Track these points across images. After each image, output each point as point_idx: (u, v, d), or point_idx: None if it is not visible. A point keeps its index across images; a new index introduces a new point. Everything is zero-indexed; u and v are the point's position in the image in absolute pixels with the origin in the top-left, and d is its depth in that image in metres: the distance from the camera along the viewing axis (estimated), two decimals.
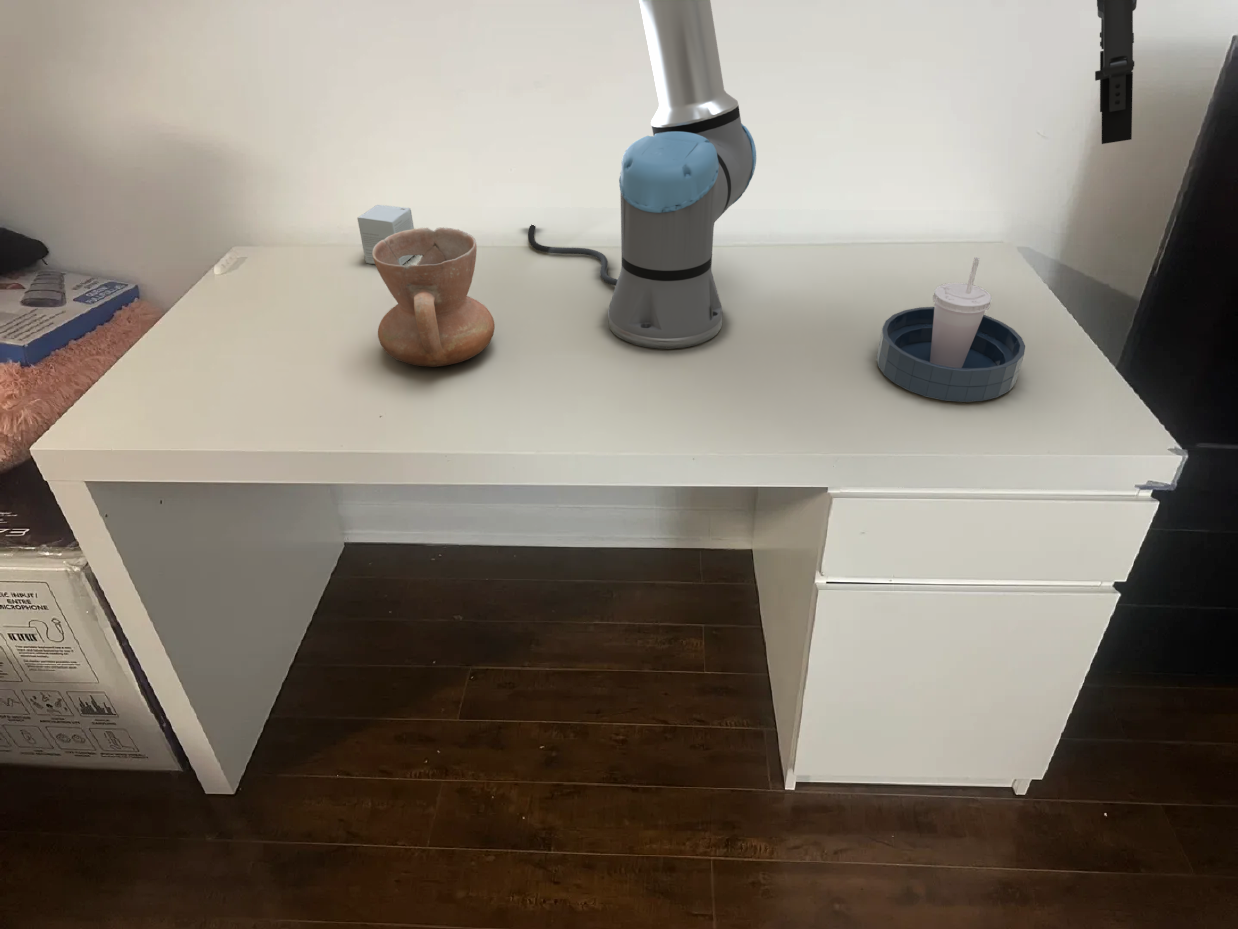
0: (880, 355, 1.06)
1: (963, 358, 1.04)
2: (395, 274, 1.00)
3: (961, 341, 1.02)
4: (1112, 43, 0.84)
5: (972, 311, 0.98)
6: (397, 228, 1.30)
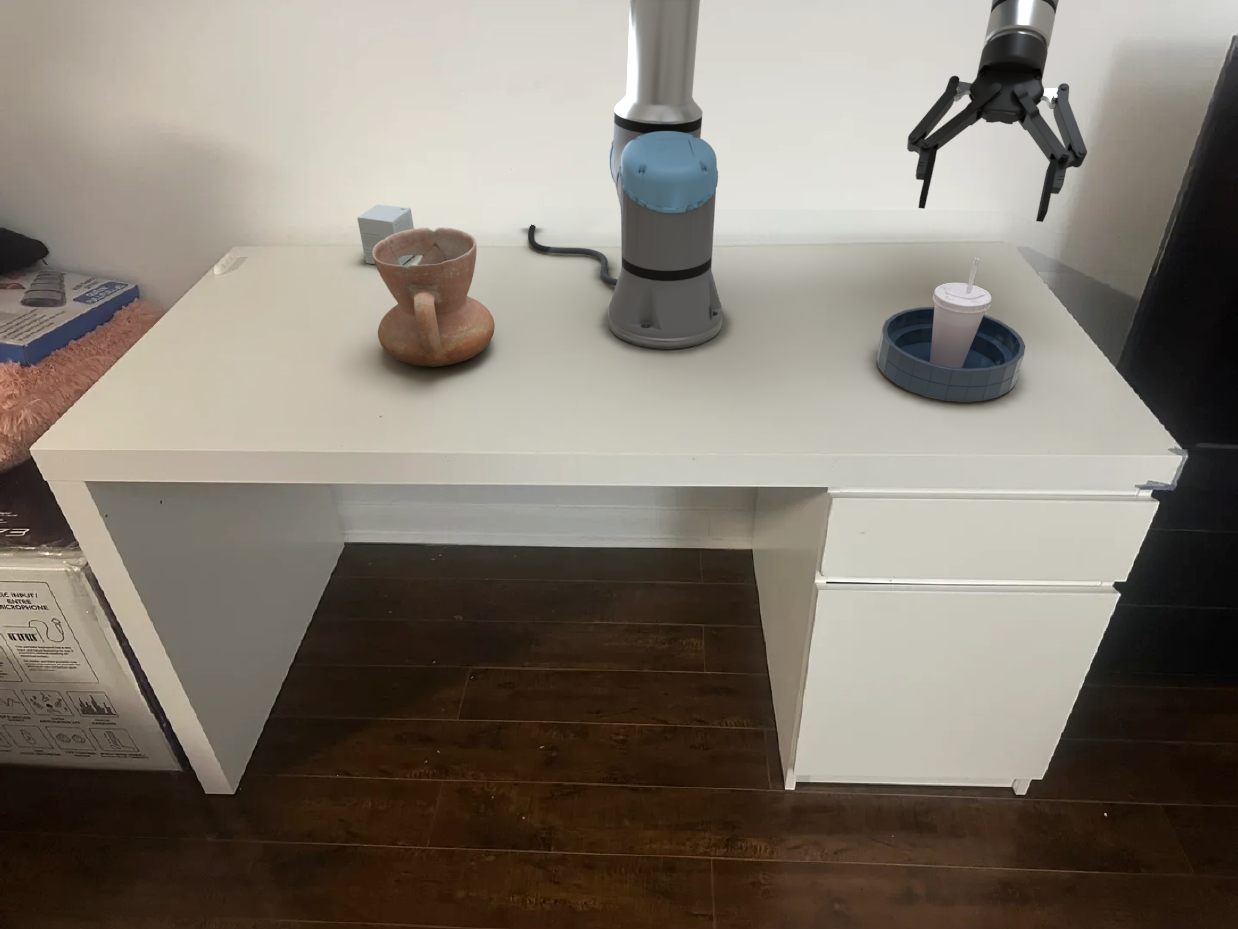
0: (880, 355, 1.06)
1: (963, 358, 1.04)
2: (395, 274, 1.00)
3: (961, 341, 1.02)
4: None
5: (972, 311, 0.98)
6: (397, 228, 1.30)
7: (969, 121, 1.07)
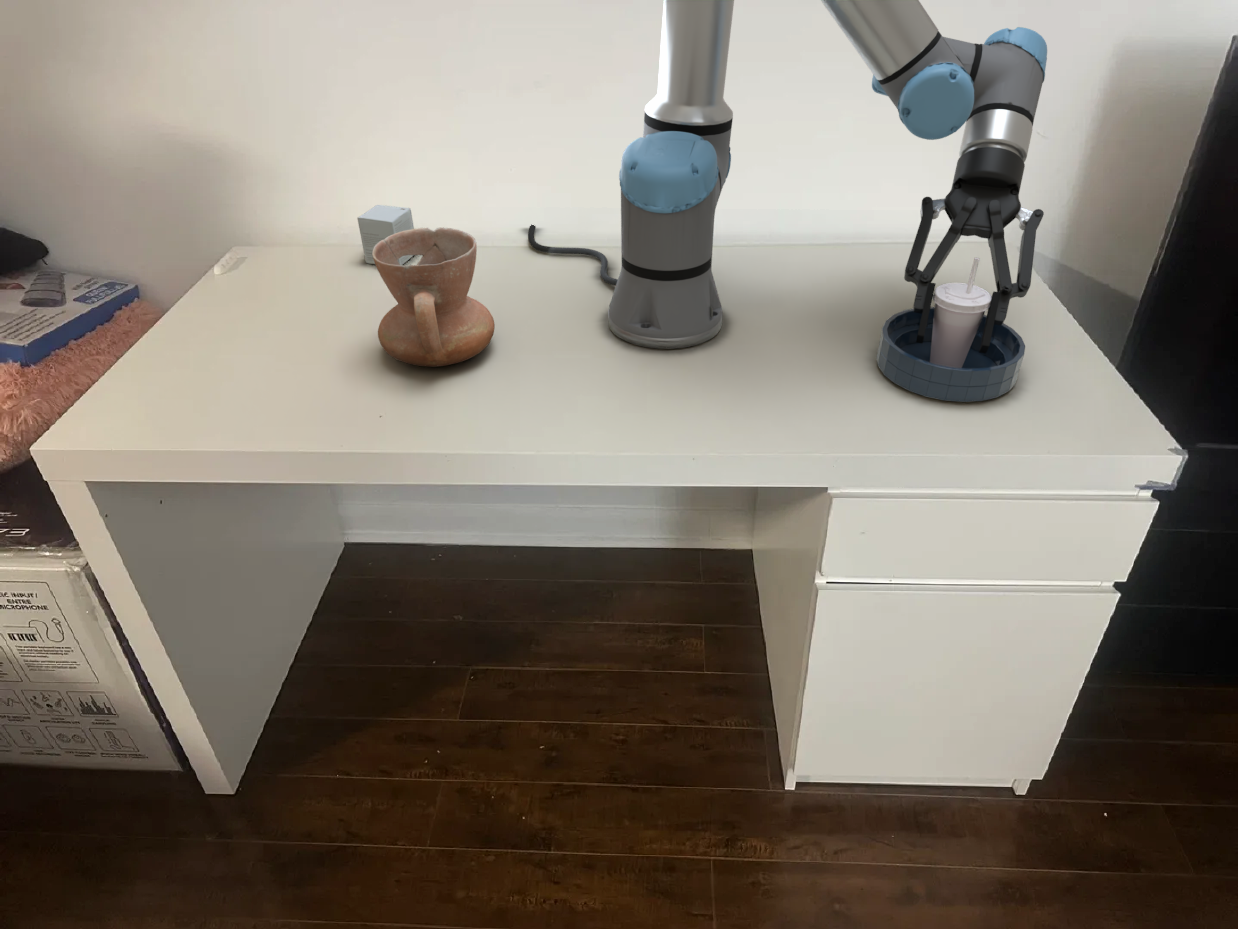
0: (880, 355, 1.06)
1: (963, 358, 1.04)
2: (395, 274, 1.00)
3: (961, 341, 1.02)
4: None
5: (972, 311, 0.98)
6: (397, 228, 1.30)
7: (955, 240, 1.03)
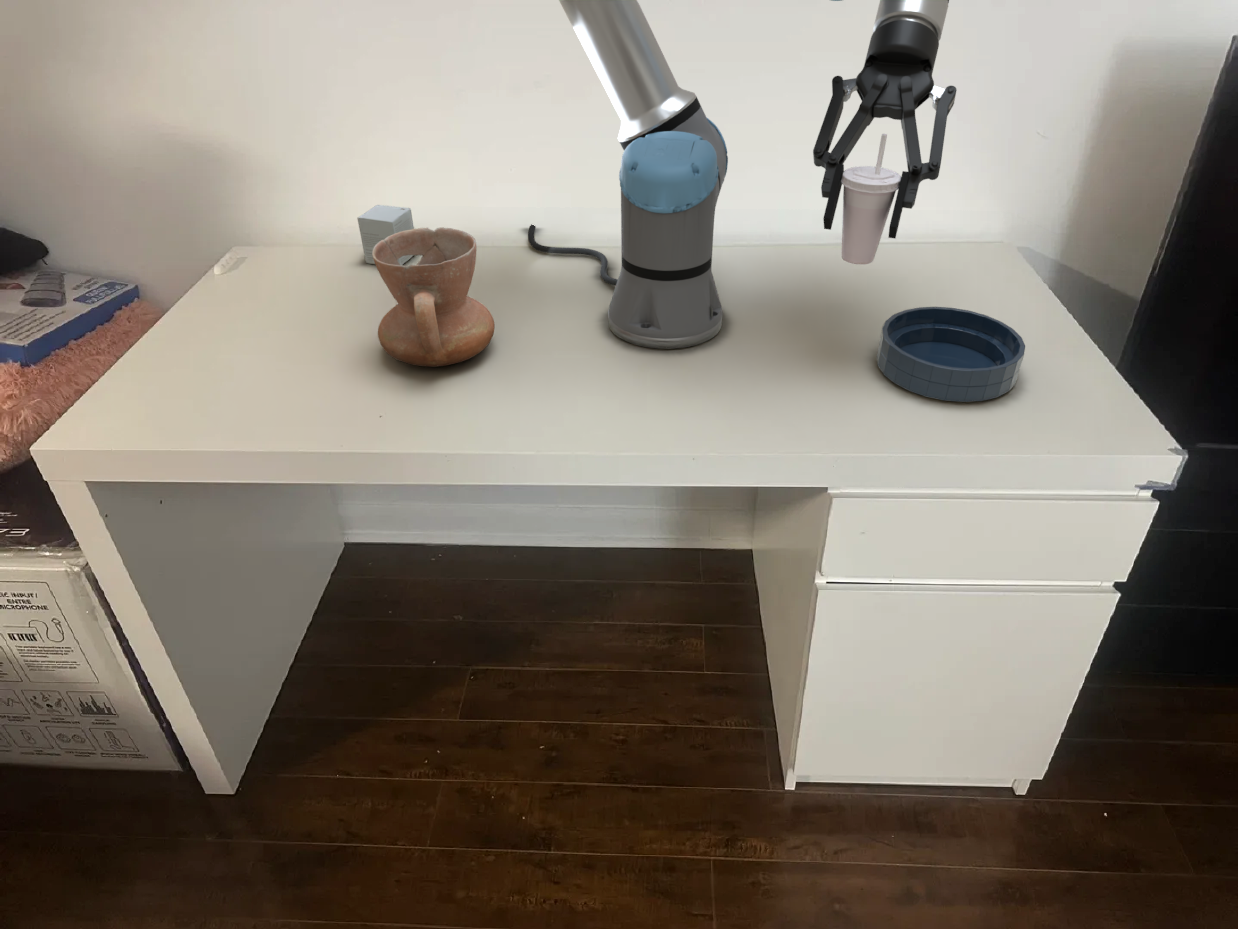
0: (880, 355, 1.06)
1: (874, 246, 0.99)
2: (395, 274, 1.00)
3: (870, 226, 0.97)
4: None
5: (879, 191, 0.93)
6: (397, 228, 1.30)
7: (866, 122, 0.98)
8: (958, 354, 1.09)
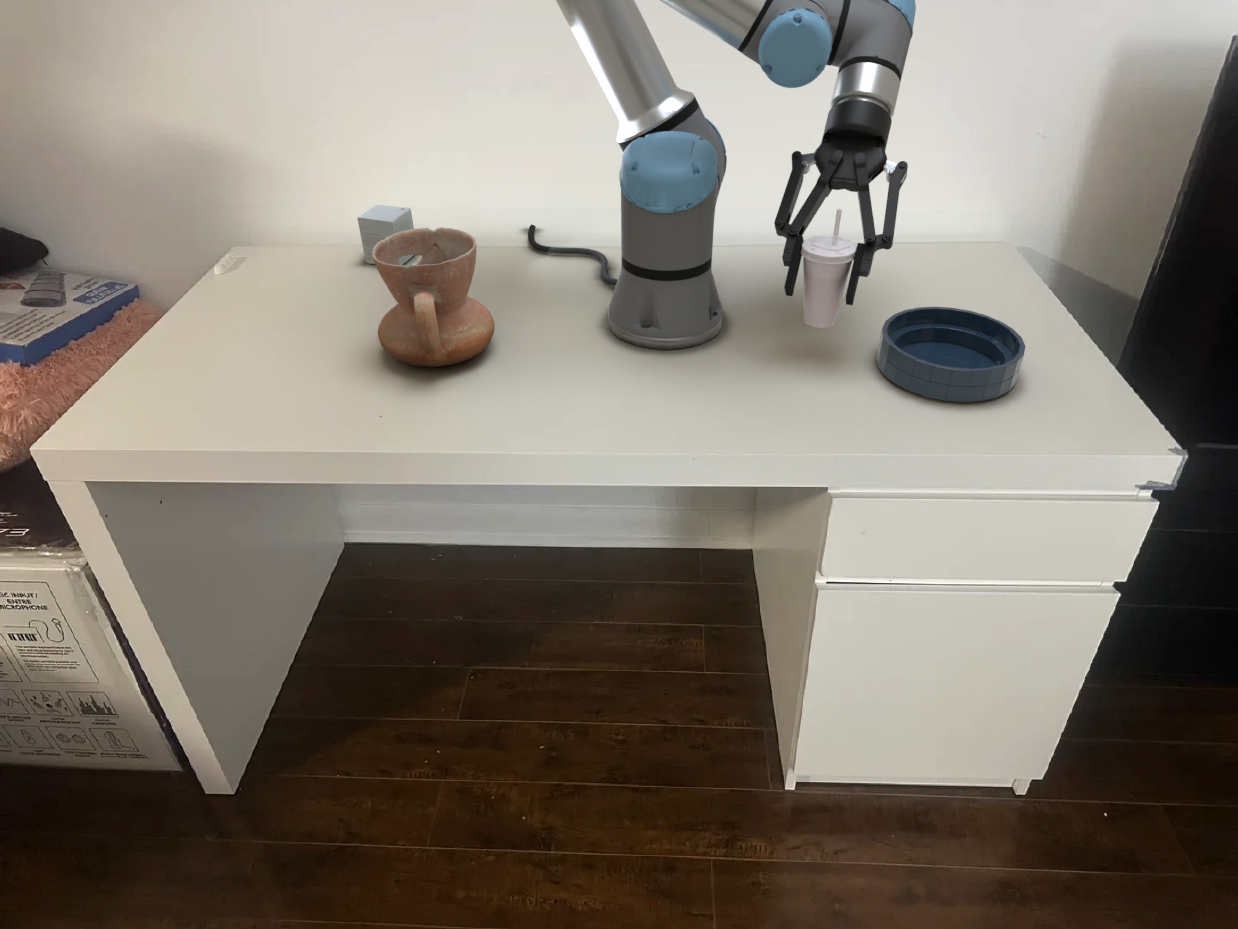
0: (880, 355, 1.06)
1: (834, 311, 1.04)
2: (395, 274, 1.00)
3: (828, 293, 1.02)
4: (895, 221, 1.00)
5: (836, 262, 0.99)
6: (397, 228, 1.30)
7: (824, 194, 1.03)
8: (958, 354, 1.09)
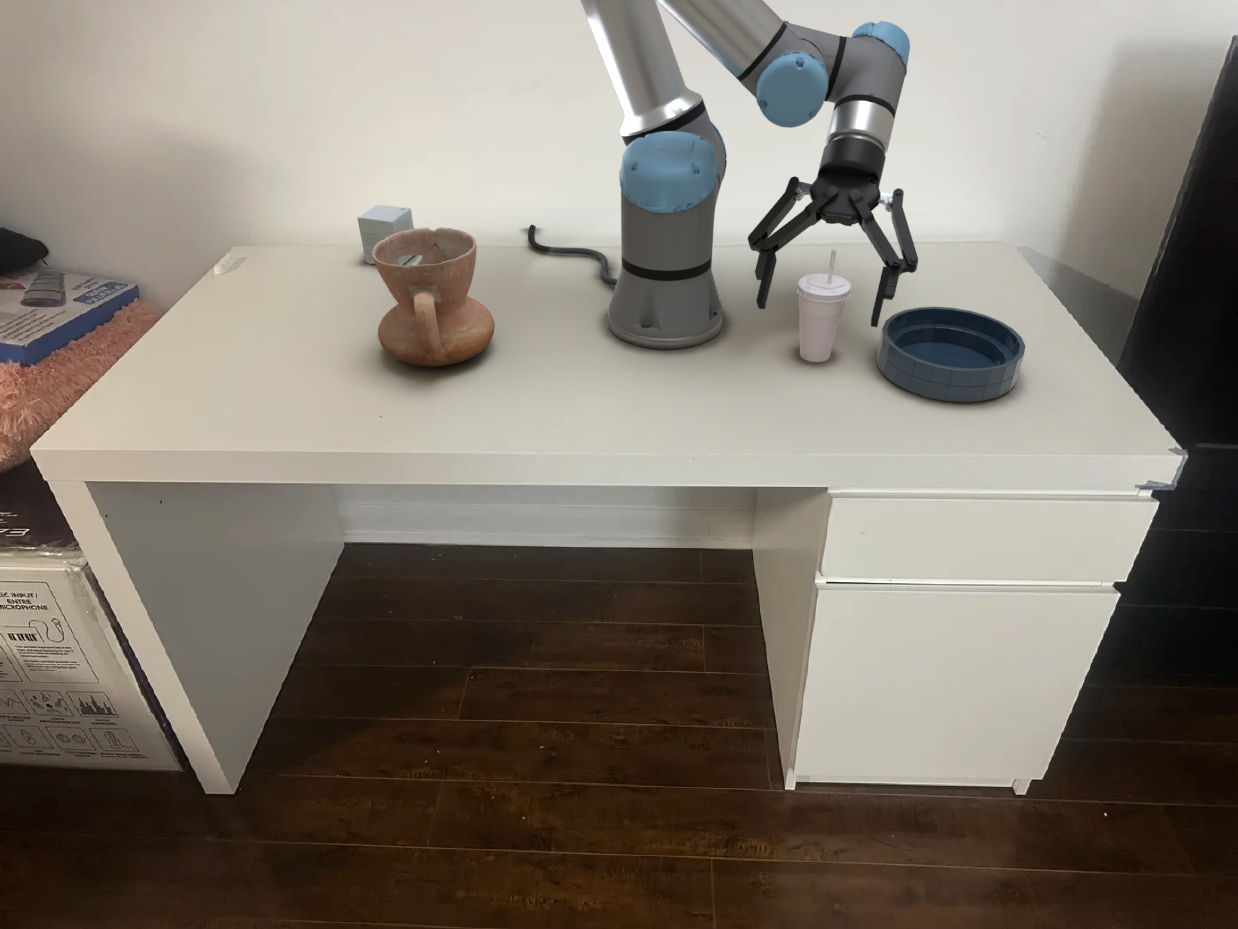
0: (880, 355, 1.06)
1: (829, 346, 1.07)
2: (395, 274, 1.00)
3: (823, 330, 1.05)
4: None
5: (830, 300, 1.02)
6: (397, 228, 1.30)
7: (809, 222, 1.06)
8: (958, 354, 1.09)
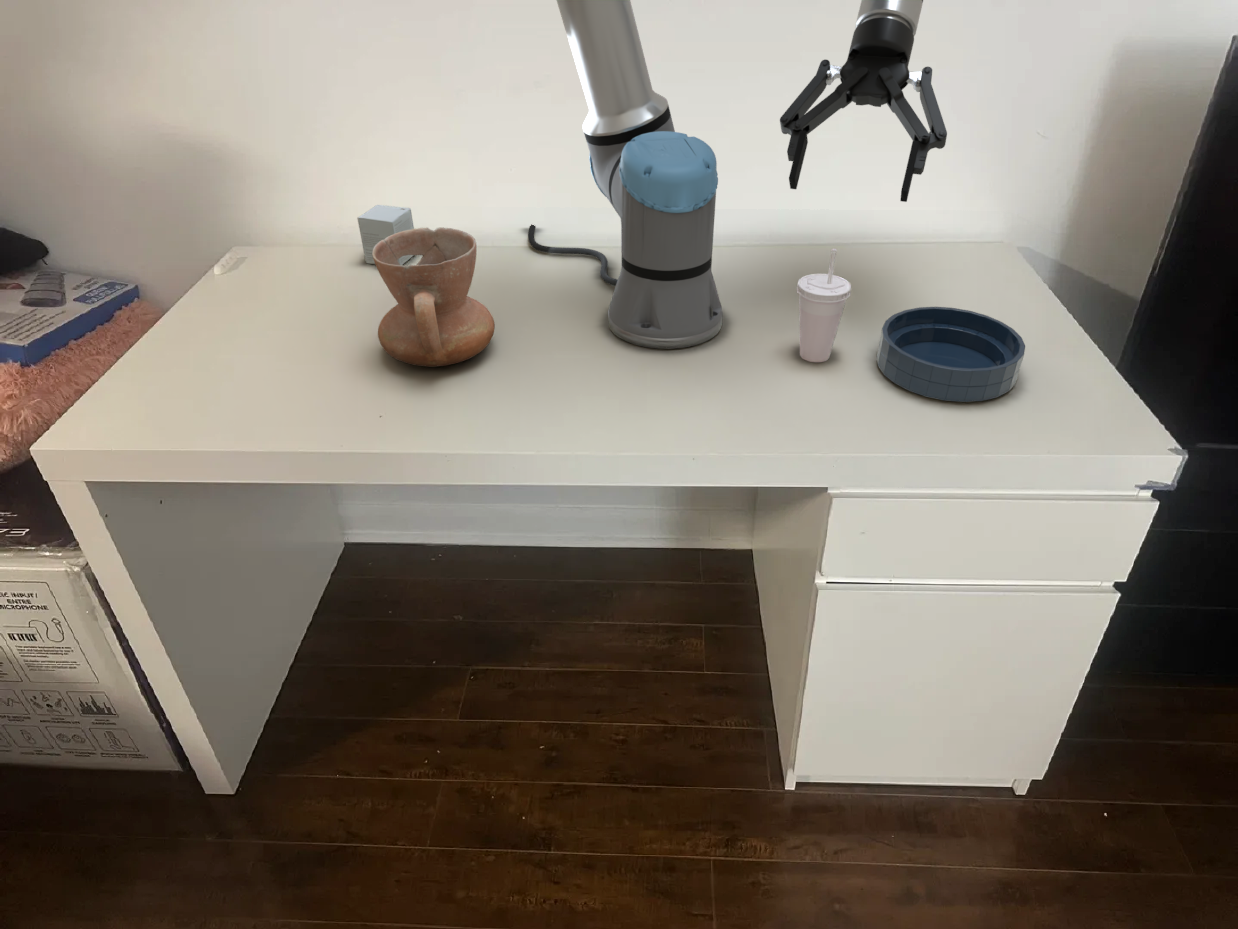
0: (880, 355, 1.06)
1: (829, 346, 1.07)
2: (395, 274, 1.00)
3: (823, 330, 1.05)
4: None
5: (830, 300, 1.02)
6: (397, 228, 1.30)
7: (839, 104, 1.10)
8: (958, 354, 1.09)
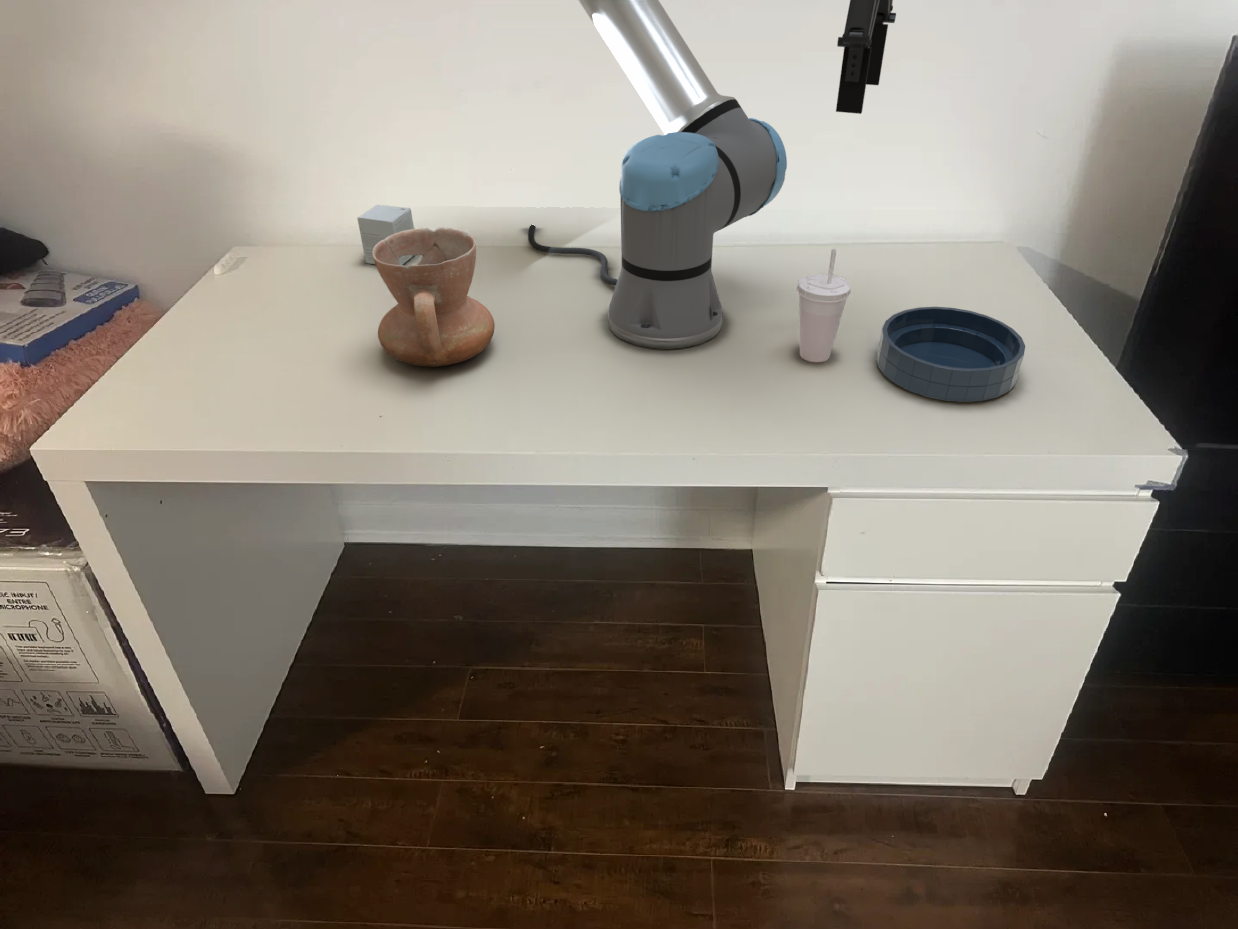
0: (880, 355, 1.06)
1: (829, 346, 1.07)
2: (395, 274, 1.00)
3: (824, 330, 1.05)
4: (854, 12, 0.87)
5: (830, 300, 1.02)
6: (397, 228, 1.30)
7: None
8: (958, 354, 1.09)
